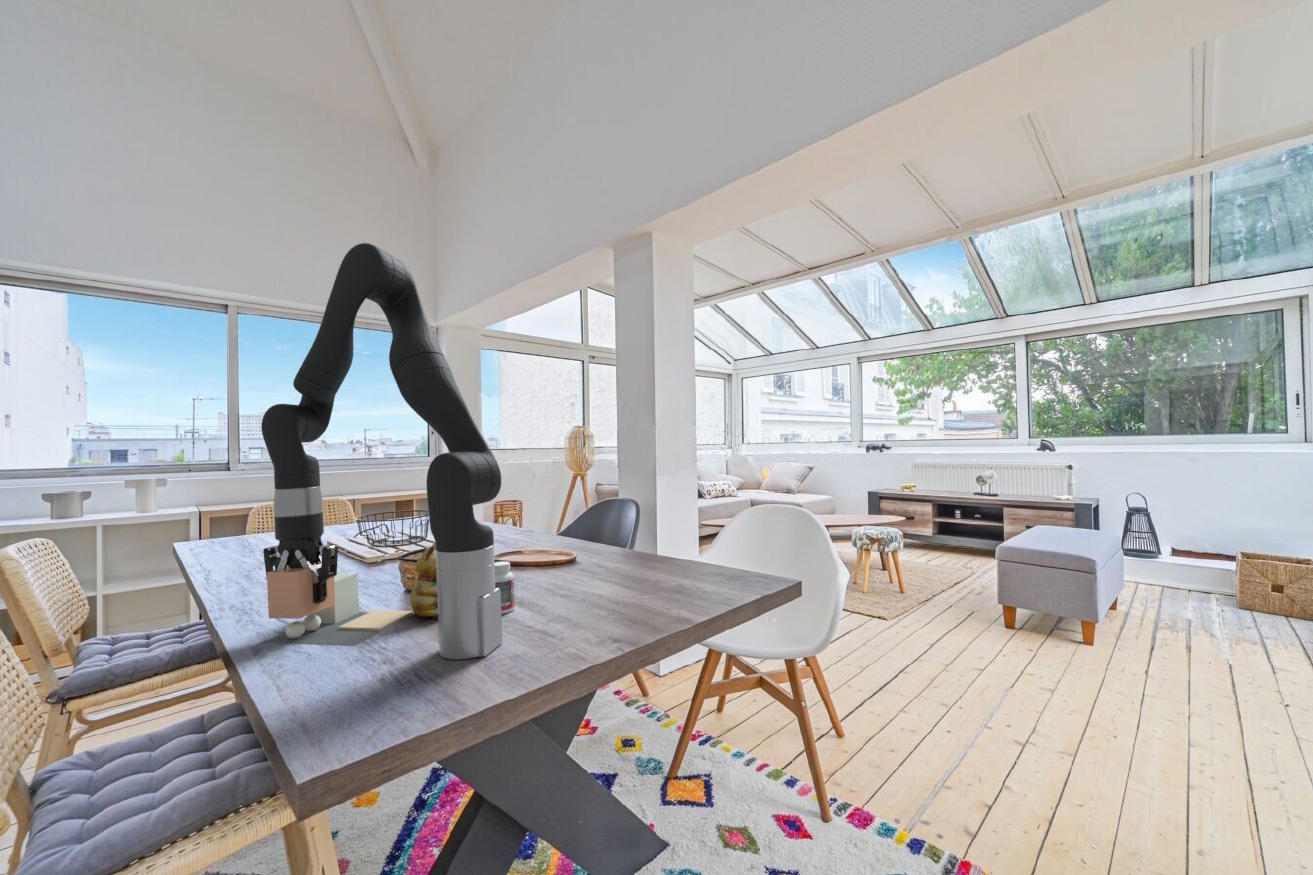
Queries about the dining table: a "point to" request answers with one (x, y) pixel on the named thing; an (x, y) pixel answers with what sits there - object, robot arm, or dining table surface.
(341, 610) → the pale green cube
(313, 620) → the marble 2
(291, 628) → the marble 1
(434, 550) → the decorative figurine
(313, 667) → the dining table surface
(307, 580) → the clay brown brick
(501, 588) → the pill bottle
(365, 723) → the dining table surface
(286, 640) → the mat
